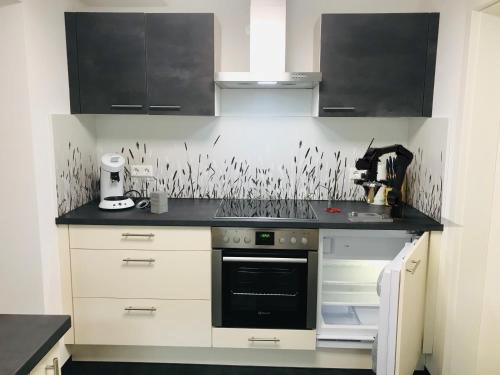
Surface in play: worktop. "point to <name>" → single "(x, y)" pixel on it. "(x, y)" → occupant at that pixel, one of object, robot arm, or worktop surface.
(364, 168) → the robot arm
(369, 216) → the plate with square hole
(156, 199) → the supplement box
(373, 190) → the brass pin
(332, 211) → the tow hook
